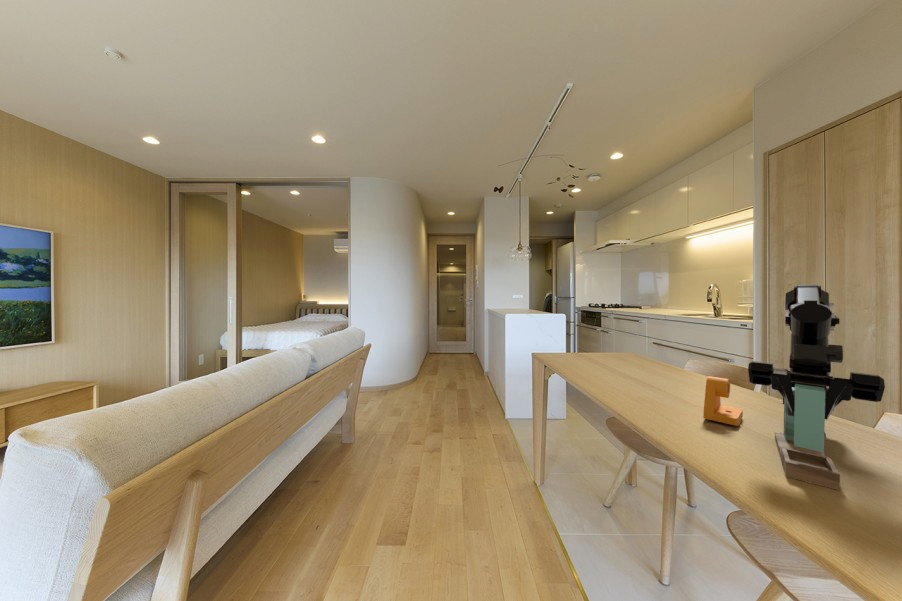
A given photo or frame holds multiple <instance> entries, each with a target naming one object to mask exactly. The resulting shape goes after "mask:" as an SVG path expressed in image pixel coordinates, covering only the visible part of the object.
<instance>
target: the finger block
mask: <svg viewBox="0 0 902 601" xmlns="http://www.w3.org/2000/svg"><path fill="white" fill-rule="evenodd" d="M825 423H826V419H825V388H822V387H815V386H808V385H800V384H795V413H794V446H797V447H802V448H806V449H810V450H814V451H818V452H823V453H824V454H825V436H824V432H825V430H826V429H825V428H826V427H825V425H826V424H825Z"/></svg>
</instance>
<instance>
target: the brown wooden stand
mask: <svg viewBox="0 0 902 601" xmlns="http://www.w3.org/2000/svg"><path fill="white" fill-rule="evenodd" d="M792 391H793V397H794V402H795V388H794V387H792ZM774 440H775V443H776V447H777V451H778V453H779V454H778V455H779V457H780V462H781V464H782V466H781V467H782V469H783V472H784V476H785V477H786V478H789V479H793V478H794V479H793V480H797V479H799V480H798V481H801V480H803V481H802V482H805V481H807V482H806V483H809V482H811V483H810V484H812V485H817V486H820V485H821V487H824V486H825V488H828V487H829V488H828V489H832V490H837V491H840V489H841V488H840V487H841V486H840V484H841V473H840V472H839V471H838V468H837V467H836V465H835V463H834V462H833V459H831V457H829V456H826V455H825V452H824V453H823V452H818V451H814V450H810V449H806V448H802V447H797V446H794V413H792V412H791V410H790V408H789V406H788V405H787V403H786V401H785V399H784V404H783V433H782V432H777V431H775V432H774Z"/></svg>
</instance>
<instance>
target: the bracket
mask: <svg viewBox="0 0 902 601" xmlns="http://www.w3.org/2000/svg"><path fill="white" fill-rule="evenodd" d="M705 382H706V383H705V393H704V404H703V416H702V418H703V419H706V420H709V421H714V422H719V423H723V424H727V425H730V426H736V427H739V426H740V424H741V422H742V420H743V419H742V418H743V411H744V410H743V409H742V408H739V407H735V406H729V405H724V404H721V403H722V402H721V398H724V399H729V397H730V393H731V381H730V379H729V378H723V377H717V376H710V375H708V376H707V377H706V381H705Z"/></svg>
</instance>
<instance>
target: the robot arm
mask: <svg viewBox="0 0 902 601" xmlns="http://www.w3.org/2000/svg"><path fill="white" fill-rule="evenodd" d="M784 296H785V297H784V298H785V299H784V300H785V302H784V308H785V315H784V316H785V320H784V321H785V323H784V325H785V327H789V331H790V332H791V334H790V354H789V361H788V362H789V369H787V368H779V367H774V363H771V362H763V361H755V360H752V361H750V362H749V363H748V367H747V371H748V372H747V373H748V378H749V380H748V381H749V383H750V384H753V385H760V386H766V387H770V386H771V389H772V390H775V391H778V393H779V394H780V395H781V396H782V405H784V399H785V401H786V403H787V405H788V406H789V408H790V410H791V412H792V413H795V402H794V397H793V391H792V387H794V388H795V384H800V385H808V386H815V387H822V388H825V420H828V419H829V418H830V416H831V414H832V413H833V412H834V410H835V409H836V407H837V406H838V405H840V404H841V403H842V402H843V401H845V402H846V401H847V402H849V401H851V400H852V398H853V399H855V400H860V401H867V402H875V403H878V402H882V398H883V396H884V392H885V388H886V386H885V385H886V383H885V379H884V378H883V377H881V376H880V375H879V374H874V373H872V374H871V373H863V372H852V371H850V373H849V378H845V377H844V378H842V377H837V376H831V375H830V373H831V372H832V365H831V364H832V363H839V364H842V363H843V362H844V349H843V345H842V344H840V345H839V344H829V335H830V333H831V329H835V327H836V326H837V325H840V318H839V317H838V316H837V315H835V312H832V310H830V308H829V307H830V293H829V292H827V291H825V290H823V289H822V285H818V284H797V285H794V286H793V289H791V290H789V291H788V292H786V293H785V294H784ZM825 436H827V434H826V433H825V431H824V437H825Z"/></svg>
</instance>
